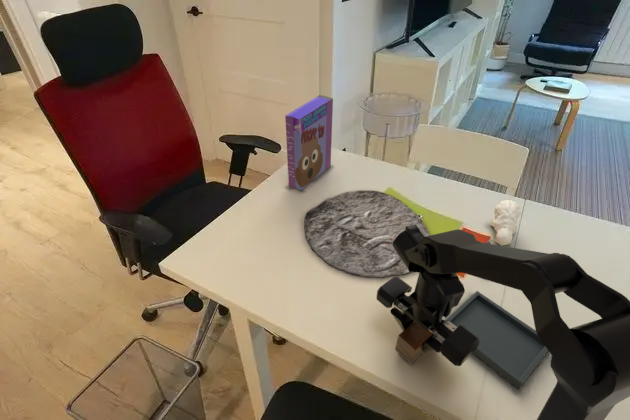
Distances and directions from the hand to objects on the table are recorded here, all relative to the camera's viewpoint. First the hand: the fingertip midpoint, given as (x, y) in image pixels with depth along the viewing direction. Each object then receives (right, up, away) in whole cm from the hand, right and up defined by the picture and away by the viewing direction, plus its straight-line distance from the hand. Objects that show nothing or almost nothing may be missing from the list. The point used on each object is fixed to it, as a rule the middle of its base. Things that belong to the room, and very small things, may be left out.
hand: (416, 342), depth 73 cm
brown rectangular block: (0, -1, +1) cm, 1 cm away
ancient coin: (-5, +20, +28) cm, 35 cm away
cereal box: (-21, +37, +49) cm, 65 cm away
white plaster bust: (+30, +19, +27) cm, 44 cm away
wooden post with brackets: (+21, +13, +19) cm, 31 cm away
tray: (+17, 0, +3) cm, 17 cm away
